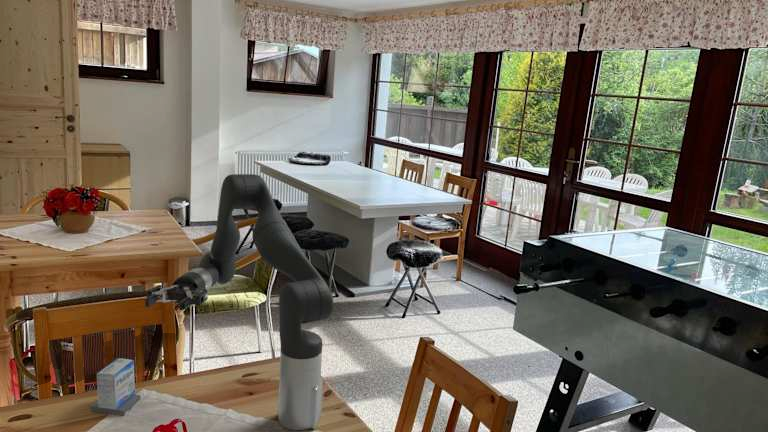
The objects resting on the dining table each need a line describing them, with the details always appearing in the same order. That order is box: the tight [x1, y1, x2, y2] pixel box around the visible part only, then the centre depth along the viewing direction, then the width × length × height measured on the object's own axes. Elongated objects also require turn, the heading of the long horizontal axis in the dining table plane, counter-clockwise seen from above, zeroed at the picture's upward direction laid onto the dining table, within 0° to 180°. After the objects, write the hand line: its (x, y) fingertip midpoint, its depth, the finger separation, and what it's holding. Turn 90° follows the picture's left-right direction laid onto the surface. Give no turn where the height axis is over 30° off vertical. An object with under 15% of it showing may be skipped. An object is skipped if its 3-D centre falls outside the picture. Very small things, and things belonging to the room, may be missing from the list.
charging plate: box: [90, 393, 141, 416], centre depth 137 cm, size 8×7×1 cm
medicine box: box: [96, 357, 136, 410], centre depth 136 cm, size 8×4×9 cm, turn 172°
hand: (163, 305), depth 145 cm, fingers open, 8 cm apart
